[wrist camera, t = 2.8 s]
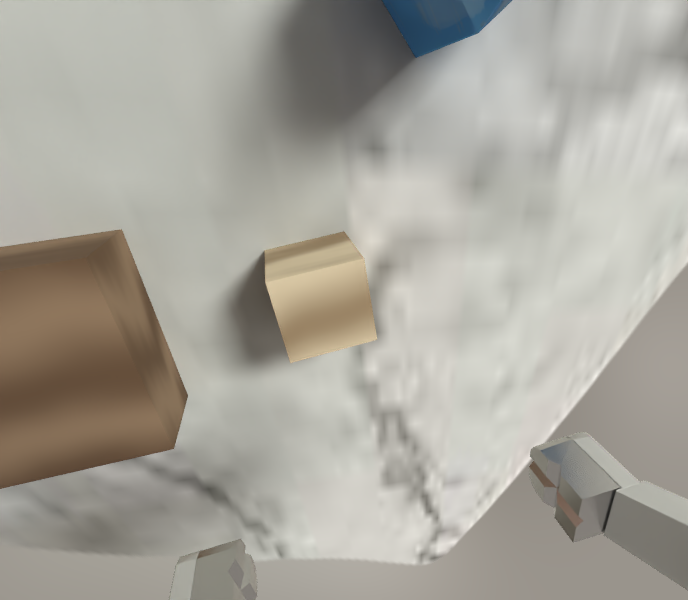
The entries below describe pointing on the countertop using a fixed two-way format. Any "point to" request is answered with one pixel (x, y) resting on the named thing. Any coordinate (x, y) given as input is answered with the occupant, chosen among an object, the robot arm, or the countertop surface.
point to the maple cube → (320, 295)
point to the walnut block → (80, 360)
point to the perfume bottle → (441, 20)
